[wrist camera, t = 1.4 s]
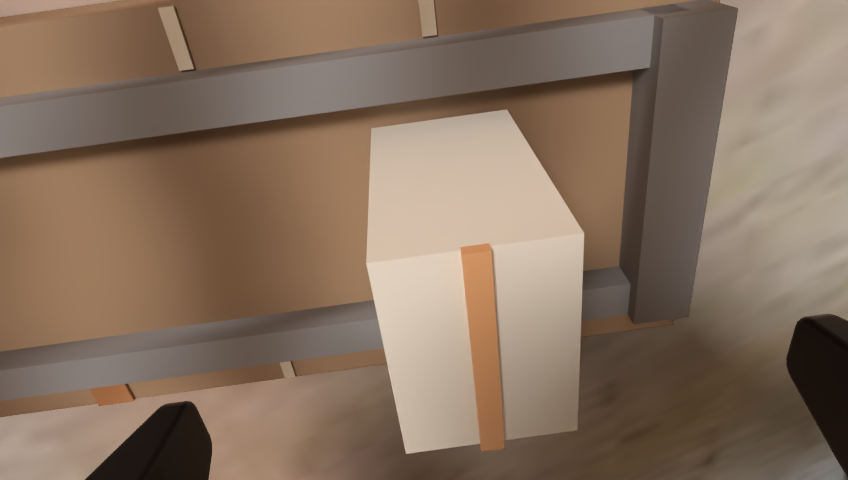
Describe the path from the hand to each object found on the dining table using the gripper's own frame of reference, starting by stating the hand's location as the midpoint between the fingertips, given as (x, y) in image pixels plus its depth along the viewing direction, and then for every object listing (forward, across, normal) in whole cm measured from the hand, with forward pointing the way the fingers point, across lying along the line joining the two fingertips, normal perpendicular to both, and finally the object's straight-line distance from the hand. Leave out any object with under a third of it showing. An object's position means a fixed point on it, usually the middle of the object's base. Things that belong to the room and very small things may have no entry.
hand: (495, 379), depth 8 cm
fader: (+6, 0, 0) cm, 6 cm away
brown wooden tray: (+8, +5, 0) cm, 9 cm away
